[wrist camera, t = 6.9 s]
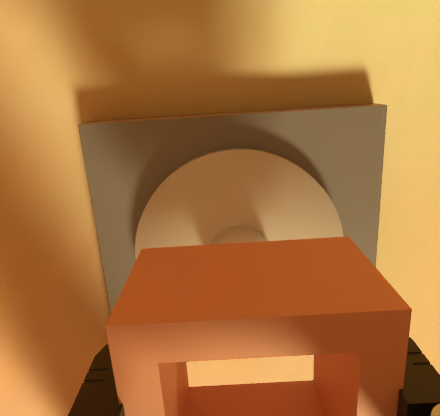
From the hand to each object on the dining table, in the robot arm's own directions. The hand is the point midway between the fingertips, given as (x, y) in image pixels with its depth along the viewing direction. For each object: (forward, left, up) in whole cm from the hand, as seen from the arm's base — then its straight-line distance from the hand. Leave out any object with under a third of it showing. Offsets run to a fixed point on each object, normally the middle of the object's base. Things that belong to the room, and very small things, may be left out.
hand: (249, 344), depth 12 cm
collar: (0, 0, -1) cm, 1 cm away
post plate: (0, 0, -9) cm, 9 cm away
